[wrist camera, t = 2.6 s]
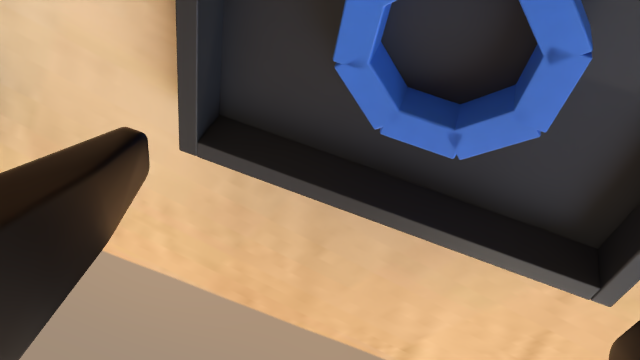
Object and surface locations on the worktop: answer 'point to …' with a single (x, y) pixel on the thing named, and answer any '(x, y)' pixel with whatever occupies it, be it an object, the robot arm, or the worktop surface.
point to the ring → (476, 115)
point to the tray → (416, 163)
